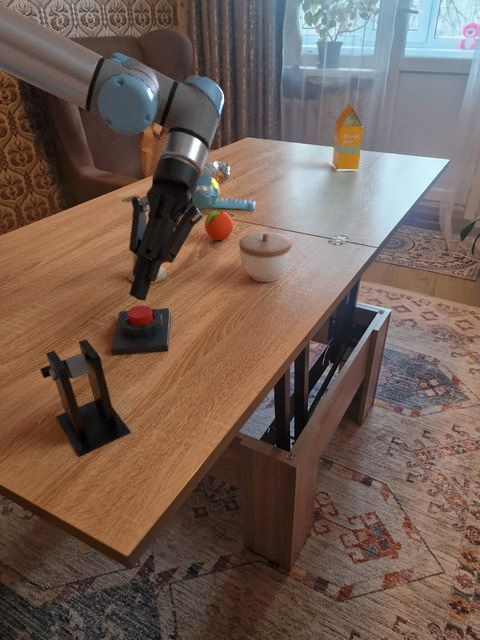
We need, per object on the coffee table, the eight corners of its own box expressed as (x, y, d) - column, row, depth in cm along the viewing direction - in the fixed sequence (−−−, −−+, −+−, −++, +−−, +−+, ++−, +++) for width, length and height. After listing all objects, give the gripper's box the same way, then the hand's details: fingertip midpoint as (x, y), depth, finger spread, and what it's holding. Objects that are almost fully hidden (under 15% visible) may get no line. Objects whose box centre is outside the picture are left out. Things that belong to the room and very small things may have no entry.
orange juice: (353, 164, 175) (359, 103, 164) (358, 171, 168) (365, 108, 156) (331, 165, 175) (336, 104, 163) (336, 172, 168) (341, 108, 156)
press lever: (44, 381, 66) (37, 365, 66) (87, 365, 69) (81, 349, 69) (56, 385, 57) (48, 366, 56) (105, 366, 59) (98, 348, 59)
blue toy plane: (256, 169, 139) (252, 186, 127) (257, 199, 144) (252, 218, 132) (161, 167, 140) (147, 184, 128) (164, 197, 146) (152, 215, 133)
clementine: (218, 248, 115) (216, 219, 111) (197, 241, 118) (194, 213, 114) (239, 237, 120) (238, 209, 116) (218, 231, 123) (217, 204, 119)
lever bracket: (57, 422, 67) (31, 347, 59) (106, 402, 70) (87, 328, 63) (81, 462, 61) (55, 384, 53) (132, 438, 64) (115, 361, 57)
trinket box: (275, 291, 97) (276, 248, 92) (230, 280, 101) (228, 237, 96) (298, 271, 105) (300, 229, 99) (255, 260, 109) (255, 220, 103)
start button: (127, 327, 80) (125, 318, 79) (130, 314, 83) (128, 306, 82) (152, 325, 80) (150, 316, 79) (153, 313, 83) (152, 304, 82)
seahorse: (220, 187, 150) (236, 161, 164) (185, 173, 149) (204, 148, 163) (216, 201, 153) (232, 175, 168) (182, 187, 153) (201, 162, 167)
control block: (113, 360, 78) (108, 340, 76) (121, 321, 88) (117, 302, 86) (169, 356, 79) (166, 336, 77) (171, 318, 89) (168, 299, 87)
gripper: (221, 184, 84) (181, 311, 81) (157, 175, 88) (117, 296, 85) (205, 159, 77) (160, 298, 74) (136, 151, 81) (91, 282, 78)
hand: (137, 297), depth 79 cm, fingers closed
